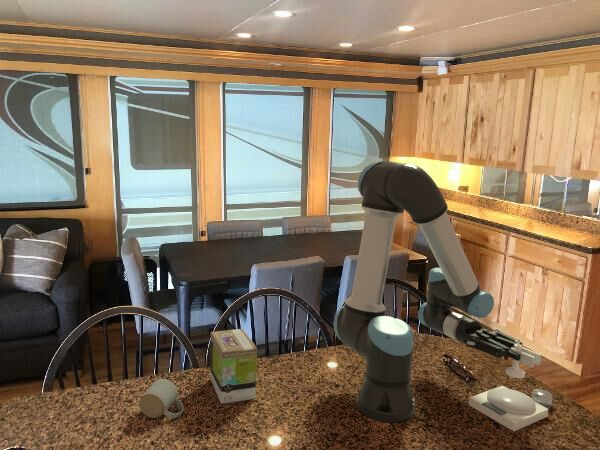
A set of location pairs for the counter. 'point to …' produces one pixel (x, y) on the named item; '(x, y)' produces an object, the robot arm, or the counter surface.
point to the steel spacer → (542, 397)
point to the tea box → (233, 365)
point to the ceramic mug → (160, 399)
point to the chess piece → (516, 364)
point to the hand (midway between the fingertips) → (536, 361)
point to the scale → (508, 407)
